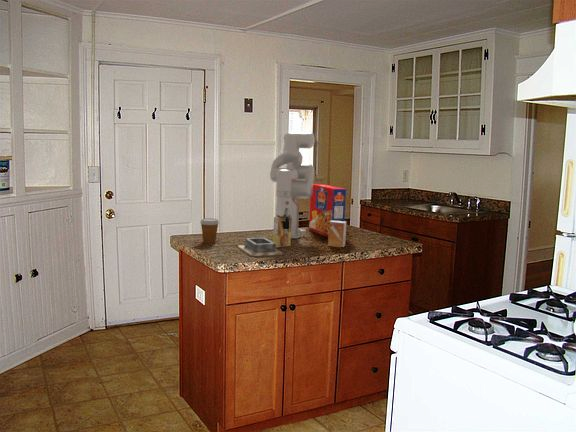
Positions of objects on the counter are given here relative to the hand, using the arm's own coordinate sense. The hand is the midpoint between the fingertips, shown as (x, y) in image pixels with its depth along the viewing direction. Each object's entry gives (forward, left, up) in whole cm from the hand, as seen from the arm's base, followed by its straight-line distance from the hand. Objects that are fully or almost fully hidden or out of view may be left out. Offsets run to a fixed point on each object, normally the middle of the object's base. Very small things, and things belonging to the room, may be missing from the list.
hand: (282, 227), depth 281 cm
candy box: (0, 0, -10) cm, 10 cm away
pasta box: (-39, -29, -10) cm, 50 cm away
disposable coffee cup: (+34, -16, -10) cm, 39 cm away
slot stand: (+15, +9, -10) cm, 20 cm away
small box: (-29, +5, -10) cm, 31 cm away
